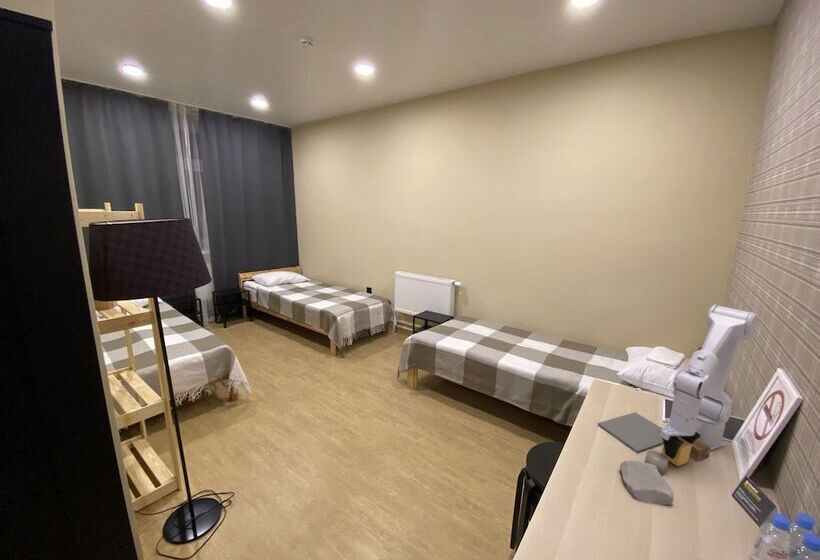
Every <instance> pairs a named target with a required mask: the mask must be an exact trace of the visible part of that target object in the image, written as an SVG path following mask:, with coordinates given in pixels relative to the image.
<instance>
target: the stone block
mask: <svg viewBox="0 0 820 560" xmlns="http://www.w3.org/2000/svg"><path fill="white" fill-rule="evenodd" d="M619 468H620V470H621V474H622V478H623V482H624V484H625V485H626V489H627V491H628V492H629V493H630V494H631V495H632V496H633V498H635V500H637V501H639V502H643V503H646V504H648V505H651V504H652V505H662V506H672V505H673V502H674V498H675V495H674V491H673V489H672V487H671V485H670V484H669V483H668V482H667V480H666V479H664V477H662V475H660V473H659V472H658V470H657V467H656V466H655V465H653V464H649V463H645V461H639V460H633V459H632V460H631V459H630V460H623V462H622V461H621V462H620V464H619Z"/></svg>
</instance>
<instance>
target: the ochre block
mask: <svg viewBox="0 0 820 560" xmlns="http://www.w3.org/2000/svg"><path fill="white" fill-rule="evenodd" d="M677 437H678V439H680V440H682V441H683V442H685V443H683V444H682V445H681V446H680V448H679V449H678V451H677V454H676V456H675V458H673V459H672V458H670V457H669V456H667V455H666V454H665V448H664V444H663V445H662V450H661V453H662V454H663V455H665V456H666V457H667V459H668V462H670V463H672V464H673V465H674V466H676V467H680V466H682V465H684V464H687V463H688V462H689V458H690V457H689V455H690V451H691V447H692V444H691V443H689V442H687V441H685V440H684V439H682V438H680V437H679V436H677Z"/></svg>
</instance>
